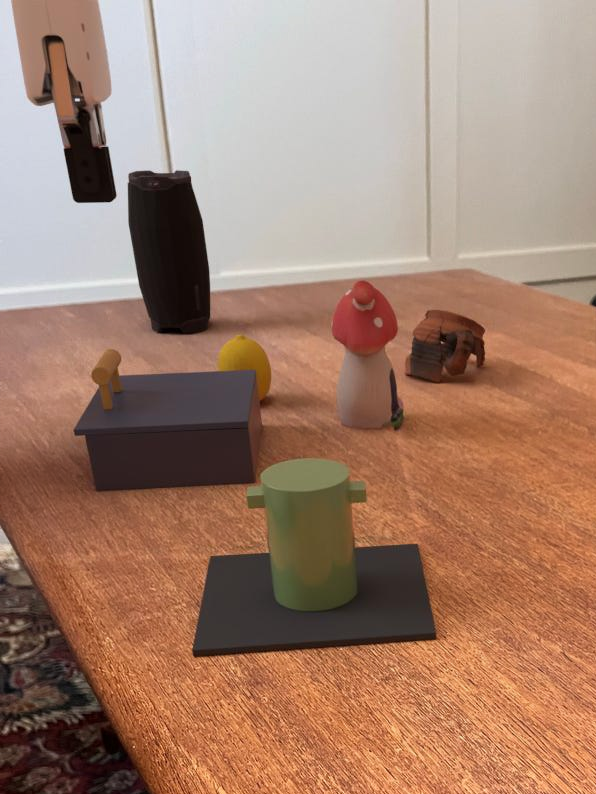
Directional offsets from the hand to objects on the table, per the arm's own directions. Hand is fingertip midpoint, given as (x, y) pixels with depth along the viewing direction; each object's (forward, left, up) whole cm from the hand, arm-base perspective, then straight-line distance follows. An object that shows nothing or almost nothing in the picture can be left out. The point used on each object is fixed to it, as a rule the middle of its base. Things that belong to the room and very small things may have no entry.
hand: (95, 200), depth 83 cm
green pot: (+16, -28, -23) cm, 40 cm away
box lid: (+4, 0, -17) cm, 18 cm away
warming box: (+4, 0, -23) cm, 23 cm away
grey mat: (+16, -28, -23) cm, 40 cm away
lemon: (+9, +16, -23) cm, 29 cm away
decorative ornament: (+22, +9, -23) cm, 33 cm away
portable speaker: (-2, +53, -23) cm, 57 cm away
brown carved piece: (+32, +26, -23) cm, 47 cm away
